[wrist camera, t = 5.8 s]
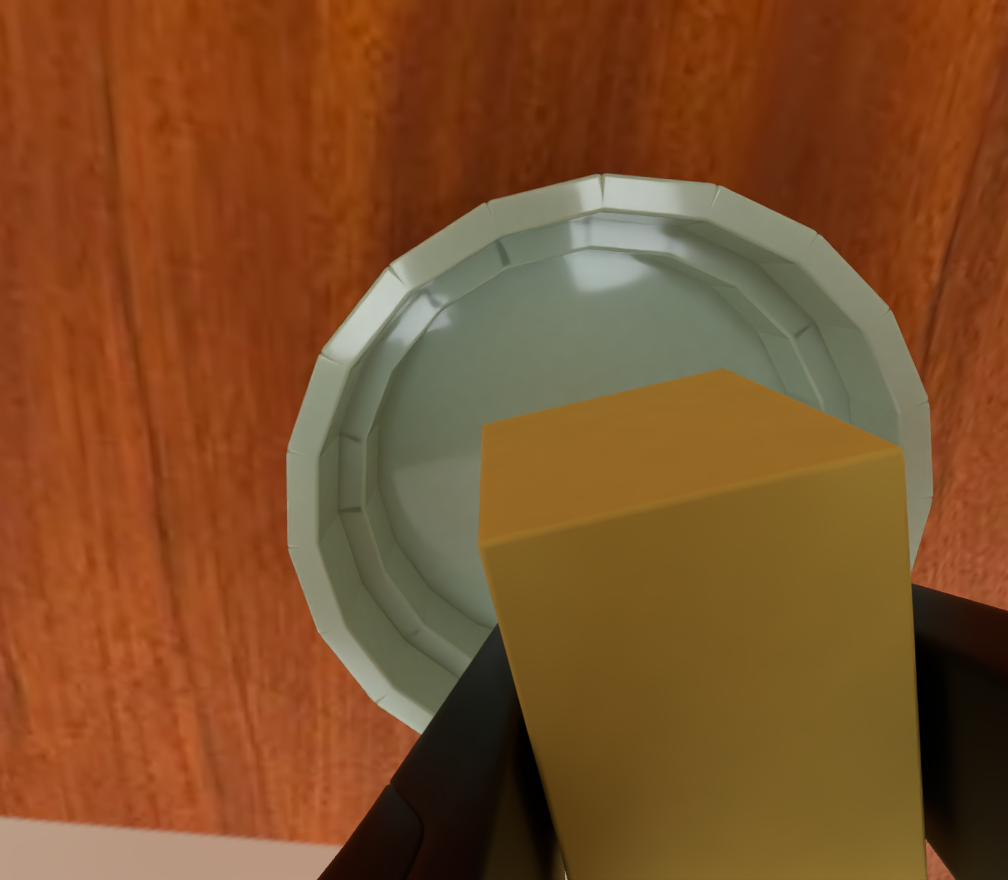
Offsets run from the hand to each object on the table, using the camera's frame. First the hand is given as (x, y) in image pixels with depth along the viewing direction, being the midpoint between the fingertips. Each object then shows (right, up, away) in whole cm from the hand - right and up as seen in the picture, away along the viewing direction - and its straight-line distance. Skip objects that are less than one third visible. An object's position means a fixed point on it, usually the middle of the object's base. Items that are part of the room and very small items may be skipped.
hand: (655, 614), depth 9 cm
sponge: (0, 0, +1) cm, 1 cm away
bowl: (0, +2, +7) cm, 7 cm away
